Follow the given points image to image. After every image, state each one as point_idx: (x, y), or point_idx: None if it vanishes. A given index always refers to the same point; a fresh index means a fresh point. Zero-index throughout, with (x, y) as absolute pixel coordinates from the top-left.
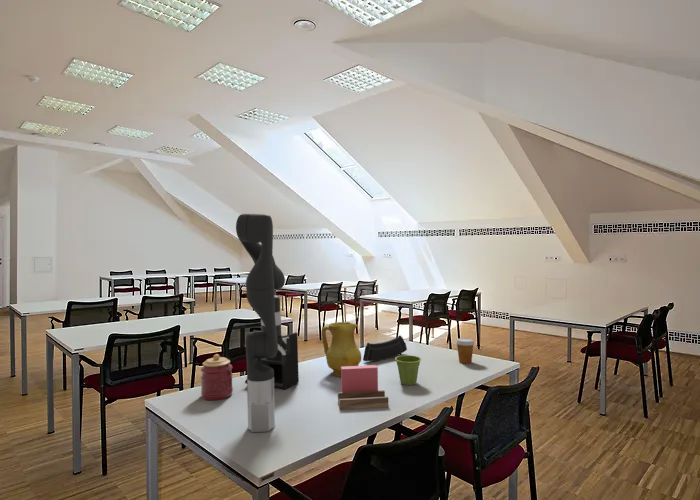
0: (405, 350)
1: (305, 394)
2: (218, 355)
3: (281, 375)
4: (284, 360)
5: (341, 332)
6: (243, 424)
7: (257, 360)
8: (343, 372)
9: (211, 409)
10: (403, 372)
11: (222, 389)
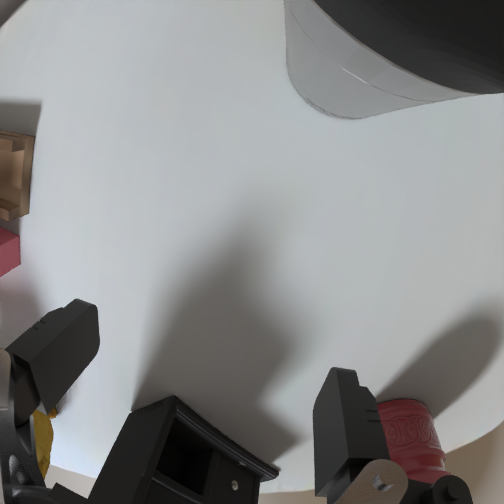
0: None
1: (110, 325)
2: None
3: (172, 454)
4: (50, 325)
5: None
6: (406, 130)
7: (382, 427)
8: None
9: (450, 334)
10: None
11: (394, 424)
